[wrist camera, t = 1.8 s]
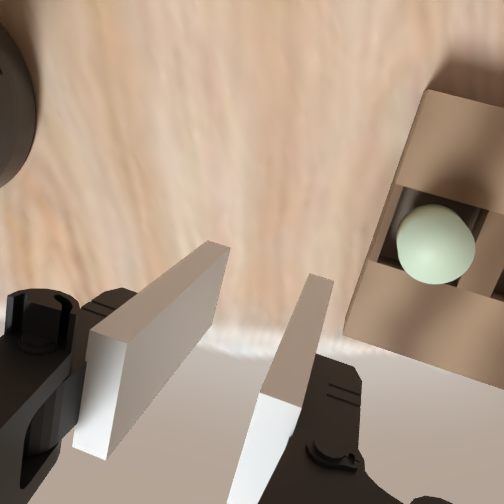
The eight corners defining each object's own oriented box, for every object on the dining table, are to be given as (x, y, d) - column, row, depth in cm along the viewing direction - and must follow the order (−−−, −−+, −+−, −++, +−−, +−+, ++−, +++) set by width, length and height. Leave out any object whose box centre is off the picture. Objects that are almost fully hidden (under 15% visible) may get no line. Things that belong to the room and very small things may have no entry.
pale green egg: (386, 256, 30) (387, 271, 28) (408, 195, 29) (412, 205, 26) (451, 276, 30) (458, 293, 27) (476, 215, 28) (487, 226, 26)
